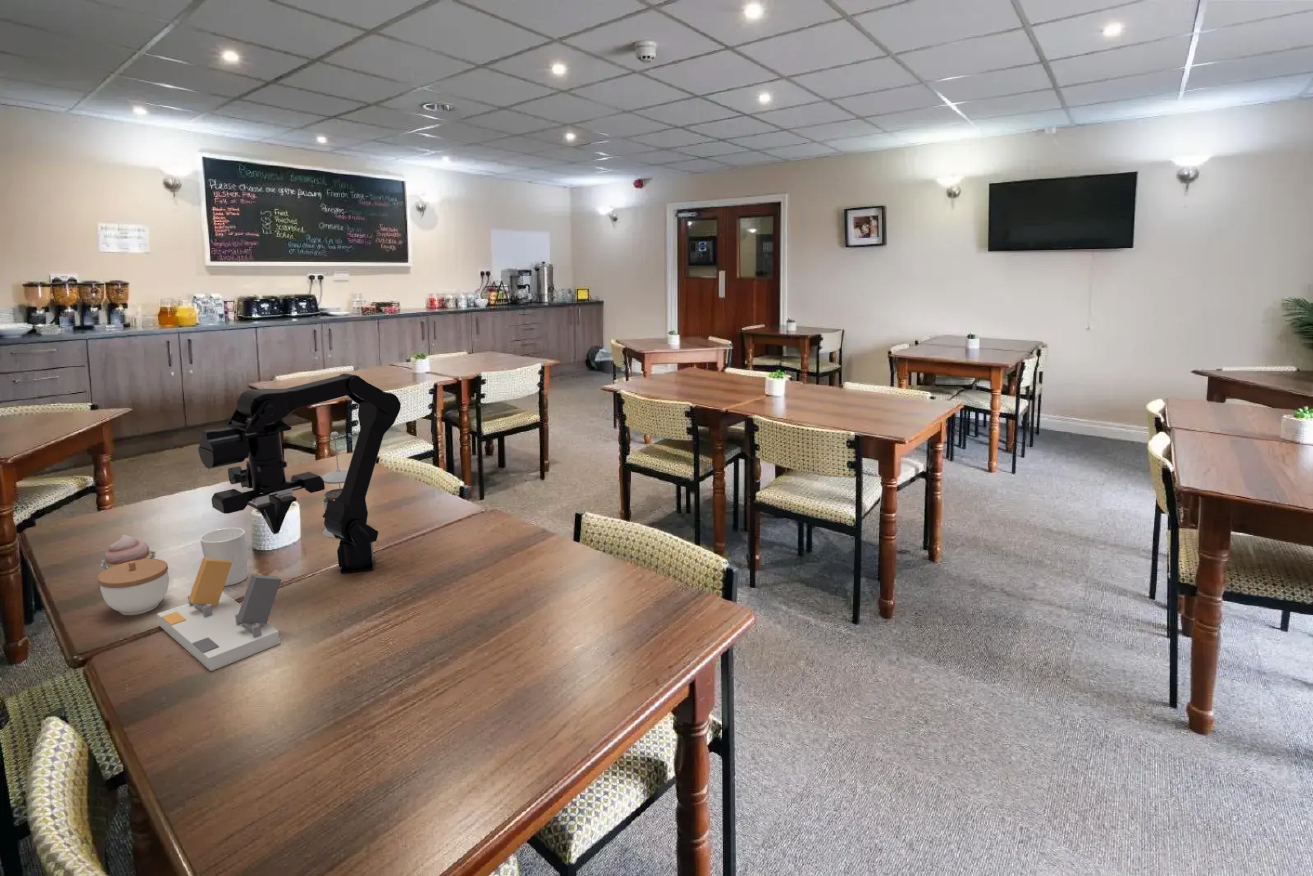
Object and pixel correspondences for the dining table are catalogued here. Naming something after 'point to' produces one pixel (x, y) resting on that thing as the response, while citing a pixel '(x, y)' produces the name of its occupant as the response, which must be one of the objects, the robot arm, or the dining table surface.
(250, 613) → the charcoal rocker
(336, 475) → the french press
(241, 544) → the white cup
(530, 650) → the dining table surface
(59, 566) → the dining table surface
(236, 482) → the robot arm
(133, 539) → the cupcake
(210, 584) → the orange rocker
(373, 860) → the dining table surface
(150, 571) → the lidded jar
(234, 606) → the switch console
